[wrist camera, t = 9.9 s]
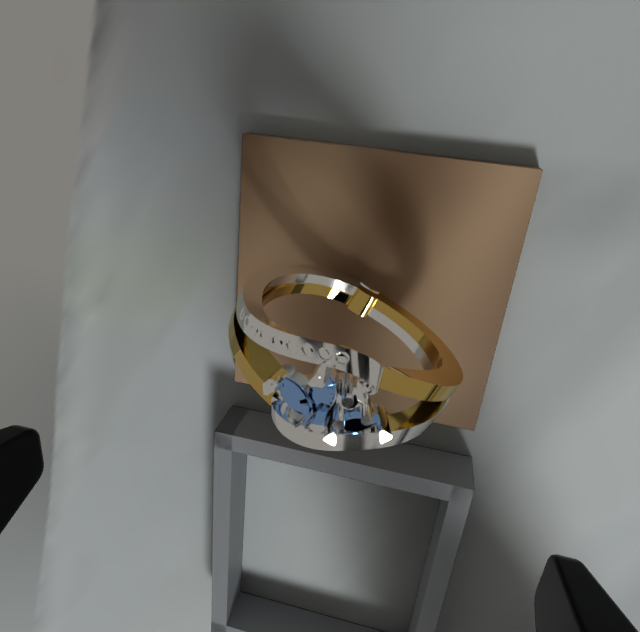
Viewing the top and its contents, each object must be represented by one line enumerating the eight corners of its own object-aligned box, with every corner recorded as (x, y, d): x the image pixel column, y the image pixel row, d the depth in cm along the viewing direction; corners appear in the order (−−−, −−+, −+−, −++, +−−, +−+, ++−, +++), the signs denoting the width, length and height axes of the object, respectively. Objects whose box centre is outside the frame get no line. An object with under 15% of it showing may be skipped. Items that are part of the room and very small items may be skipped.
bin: (471, 457, 21) (474, 490, 19) (419, 652, 26) (417, 693, 24) (232, 405, 23) (214, 431, 21) (226, 598, 28) (211, 631, 26)
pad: (539, 167, 16) (542, 169, 16) (473, 422, 20) (474, 430, 20) (248, 132, 18) (242, 133, 18) (239, 374, 22) (234, 381, 22)
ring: (472, 304, 18) (488, 441, 11) (426, 370, 19) (412, 530, 12) (301, 210, 18) (204, 285, 11) (267, 283, 20) (162, 392, 12)
